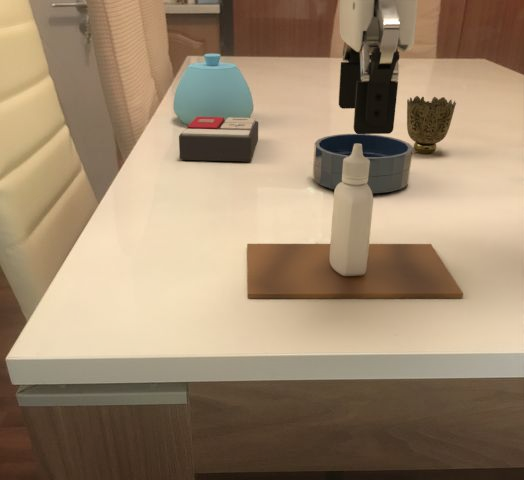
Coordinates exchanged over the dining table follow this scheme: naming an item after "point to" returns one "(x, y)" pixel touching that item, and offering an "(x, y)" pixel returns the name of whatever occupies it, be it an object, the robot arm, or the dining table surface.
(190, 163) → the dining table surface
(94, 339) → the dining table surface
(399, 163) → the bowl
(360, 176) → the eye dropper bottle
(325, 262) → the brown wooden board
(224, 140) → the dark flat box
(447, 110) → the cup
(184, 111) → the sugar bowl
